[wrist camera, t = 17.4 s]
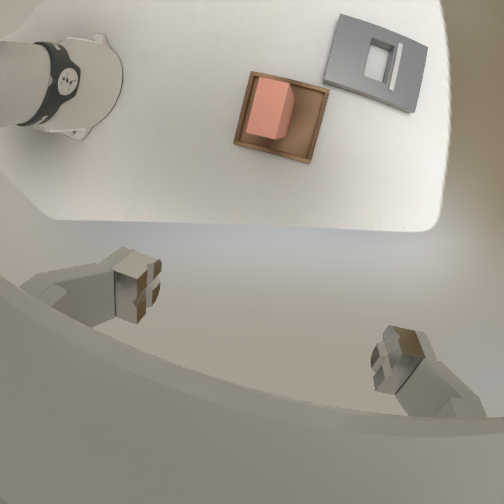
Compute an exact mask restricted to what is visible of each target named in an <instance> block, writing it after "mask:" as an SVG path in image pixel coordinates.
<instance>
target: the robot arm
mask: <svg viewBox="0 0 504 504" xmlns="http://www.w3.org/2000/svg"><path fill="white" fill-rule="evenodd" d="M121 84H122V66H121V62H120V59H119V57H118V56H117V54H116V53H115V52H114V51H113V50H112V49H111V48H110V47H109V46H108V43H107V39H106V37H105V35H104V34H95V35H92V36H90V37H87V38H84V39H81V38H75V37H67V38H66V39H65V40H62V41H60V42H58V43H57V44H55V43H52V42H36V43H33V44H29V43H20V42H7V41H0V127H4V126H9V125H15V124H16V125H18V126H34V127H33V129H34V130H37V131H43V132H60V133H62V134H64V135H67V136H69V137H71V138H74V139H76V140H83V139H84V138H85V137H86V136H87V135H88V133H89V131H90V130H91V128H92V127H93V126H94V125H95V124H97V123H98V122H100V121H101V120H102V119H103V118H105V116H106V115H107V114H108V113H109V112H110V111H111V109H112V108H113V106H114V104H115V102H116V100H117V98H118V95H119V93H120V89H121ZM161 267H162V262H161V260H160V259H158V258H155V257H152V256H149V255H146V254H143V253H141V252H138V251H135V250H133V249H129V248H126V247H121V248H120V249H118V250H117V251H116V252H114V253H113V254H111V255H110V256H109V257H107V258H106V259H105V260H103V261H102V262H101V263H99V264H95V263H93V264H87V265H82V266H77V267H71V268H65V269H60V270H54V271H49V272H43V273H39V274H36V275H35V276H33V277H32V278H30V279H29V280H28V281H26V282H25V283H24V284H22V285H21V286H19V287H17V286H16V285H14V284H13V283H11V282H9V281H8V280H6V279H5V278H3V277H2V276H0V504H504V417H496V418H487V416H486V413H485V411H484V408H483V406H482V403H481V401H480V399H479V397H478V396H477V395H476V394H474V392H473V391H472V390H470V389H469V388H468V387H467V386H466V385H465V384H464V383H463V382H462V381H461V380H460V379H459V378H458V377H457V376H456V375H455V374H454V373H453V372H452V371H451V370H449V369H448V368H447V367H446V366H445V365H444V364H443V363H442V362H441V361H438V360H437V358H436V356H435V353H434V351H433V349H432V346H431V344H430V342H429V340H428V338H427V335H426V334H425V333H424V332H419V331H414V330H409V329H404V328H399V327H395V326H388V327H387V328H386V330H385V331H384V333H383V341H381V342H379V343H377V345H376V346H375V348H374V350H373V353H372V356H371V368H372V370H373V371H374V372H375V373H376V374H375V375H374V377H373V380H374V386H375V391H377V392H383V393H388V394H394V395H395V396H396V398H397V399H398V401H399V402H400V404H401V405H402V407H403V408H404V410H405V411H406V413H407V414H408V416H400V415H390V414H381V413H372V412H364V411H358V410H351V409H344V408H339V407H332V406H327V405H322V404H316V403H312V402H307V401H302V400H297V399H293V398H288V397H284V396H280V395H275V394H272V393H267V392H263V391H260V390H256V389H252V388H249V387H245V386H241V385H238V384H235V383H231V382H228V381H225V380H221V379H218V378H215V377H212V376H209V375H206V374H203V373H200V372H197V371H194V370H191V369H188V368H186V367H182V366H180V365H177V364H175V363H172V362H169V361H167V360H164V359H161V358H159V357H156V356H154V355H151V354H148V353H146V352H144V351H141V350H139V349H137V348H134V347H132V346H130V345H127V344H125V343H123V342H120V341H118V340H116V339H114V338H112V337H109V336H107V335H105V334H103V333H101V332H99V331H97V330H95V329H93V328H92V327H94V326H96V325H98V324H101V323H103V322H106V321H108V320H111V319H113V318H115V316H116V317H119V318H121V319H124V320H126V321H129V322H131V323H134V324H138V323H139V321H140V320H141V319H142V318H143V316H144V315H145V314H146V308H148V307H151V306H152V305H153V304H154V303H155V301H156V299H157V297H158V294H159V290H160V280H159V279H158V276H157V275H158V274H159V273H160V272H161Z"/></svg>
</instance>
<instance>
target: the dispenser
mask: <svg viewBox="0 0 504 504" xmlns="http://www.w3.org/2000/svg"><path fill="white" fill-rule="evenodd" d="M370 44H373V45H375V46H378V47H381V48H383V49H386V50H388V51H389V56H388V60H387V65H386V70H385V74H384V78H383V83H382V82H379V81H376V80H374V79H371V78H368V77H365V76H363V74H364V69H365V65H366V61H367V56H368V52H369V47H370ZM427 50H428V47H426V46H424V45H422V44H420V43H418V42H416V41H414V40H411V39H409V38H407V37H405V36H402V35H400V34H397V33H395V32H392V31H390V30H387V29H385V28H382V27H380V26H377V25H374V24H371V23H368V22H365V21H362V20H359V19H356V18H353V17H350V16H346V15H343V14H340V16H339V19H338V23H337V28H336V32H335V36H334V40H333V44H332V48H331V52H330V56H329V61H328V65H327V69H326V73H325V77H324V80H323V83H325V84H329V85H332V86H335V87H339V88H342V89H345V90H348V91H351V92H354V93H357V94H360V95H363V96H366V97H368V98H371V99H374V100H376V101H379V102H382V103H384V104H387V105H389V106H392V107H394V108H397V109H399V110H401V111H404V112H406V113H415V109H416V105H417V100H418V96H419V92H420V87H421V82H422V77H423V72H424V67H425V61H426V56H427Z"/></svg>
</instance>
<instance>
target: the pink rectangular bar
mask: <svg viewBox="0 0 504 504" xmlns="http://www.w3.org/2000/svg"><path fill="white" fill-rule="evenodd" d="M294 104H295V99H294V96H293V92H292V89H291V86H290V83H286V82H282V81H277V80H273V79H268V78H263V77H259V81H258V85H257V89H256V93H255V97H254V101H253V105H252V109H251V113H250V117H249V121H248V126H247V130H246V133H250V134H254V135H259V136H263V137H267V138H271V139H280V138H284V137H286V135H287V131H288V127H289V123H290V119H291V116H292V112H293V108H294Z"/></svg>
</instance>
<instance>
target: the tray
mask: <svg viewBox="0 0 504 504" xmlns="http://www.w3.org/2000/svg"><path fill="white" fill-rule="evenodd" d="M259 77H263V78H268V79H273V80H277V81H282V82H286V83H290V86H291V89H292V92H293V96H294V99H295V104H294V108H293V112H292V116H291V119H290V123H289V127H288V131H287V135H286V137H284V138H280V139H271V138H267V137H263V136H259V135H254V134H250V133H246V130H247V126H248V121H249V117H250V113H251V109H252V105H253V101H254V97H255V93H256V89H257V85H258V81H259ZM329 91H330V90H328V89H325V88H322V87H318V86H314V85H311V84H307V83H303V82H299V81H295V80H291V79H287V78H282V77H278V76H273V75H268V74H263V73H258V72H253V71H251V73H250V77H249V81H248V85H247V89H246V93H245V97H244V101H243V105H242V109H241V113H240V118H239V122H238V126H237V130H236V135H235V139H234V143H233V144H235V145H239V146H244V147H248V148H252V149H256V150H260V151H264V152H268V153H272V154H276V155H280V156H283V157H287V158H291V159H294V160H298V161H301V162H305V163H308V164H310V162H311V158H312V155H313V151H314V148H315V144H316V140H317V137H318V133H319V129H320V125H321V122H322V118H323V114H324V110H325V106H326V103H327V99H328V95H329Z"/></svg>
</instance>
